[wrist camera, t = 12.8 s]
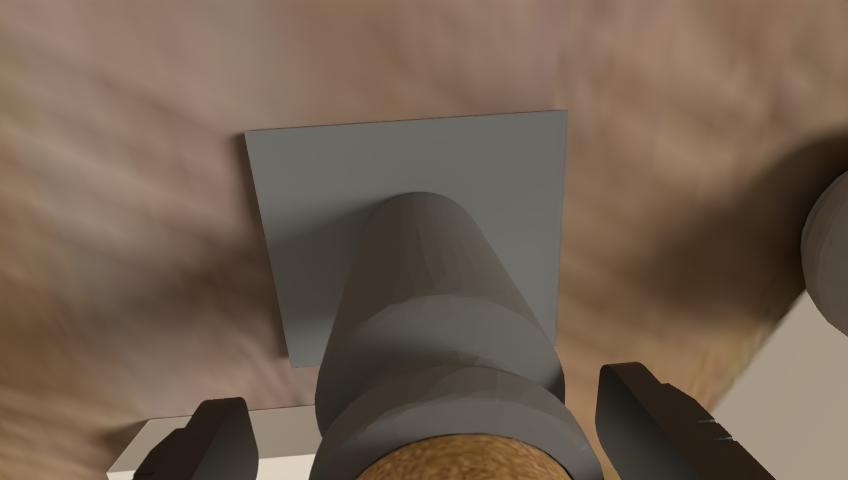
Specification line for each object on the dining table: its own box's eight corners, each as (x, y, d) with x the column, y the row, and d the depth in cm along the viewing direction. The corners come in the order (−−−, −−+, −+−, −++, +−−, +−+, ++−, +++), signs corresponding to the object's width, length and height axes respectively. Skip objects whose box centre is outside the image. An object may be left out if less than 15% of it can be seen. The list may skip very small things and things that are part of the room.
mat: (297, 354, 22) (291, 368, 21) (253, 129, 18) (243, 131, 17) (547, 333, 22) (555, 346, 21) (557, 110, 18) (567, 110, 17)
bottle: (437, 323, 20) (519, 829, 6) (336, 267, 19) (146, 742, 5) (505, 232, 19) (817, 612, 5) (402, 165, 18) (405, 410, 3)
